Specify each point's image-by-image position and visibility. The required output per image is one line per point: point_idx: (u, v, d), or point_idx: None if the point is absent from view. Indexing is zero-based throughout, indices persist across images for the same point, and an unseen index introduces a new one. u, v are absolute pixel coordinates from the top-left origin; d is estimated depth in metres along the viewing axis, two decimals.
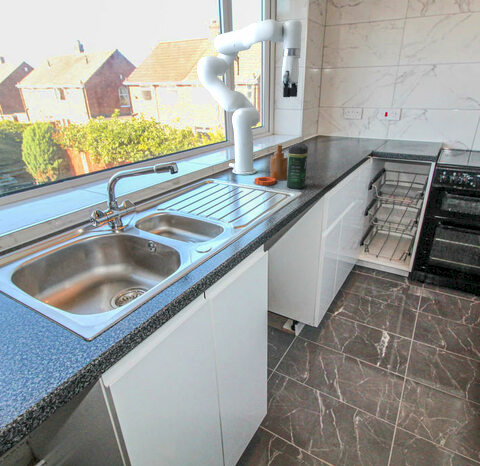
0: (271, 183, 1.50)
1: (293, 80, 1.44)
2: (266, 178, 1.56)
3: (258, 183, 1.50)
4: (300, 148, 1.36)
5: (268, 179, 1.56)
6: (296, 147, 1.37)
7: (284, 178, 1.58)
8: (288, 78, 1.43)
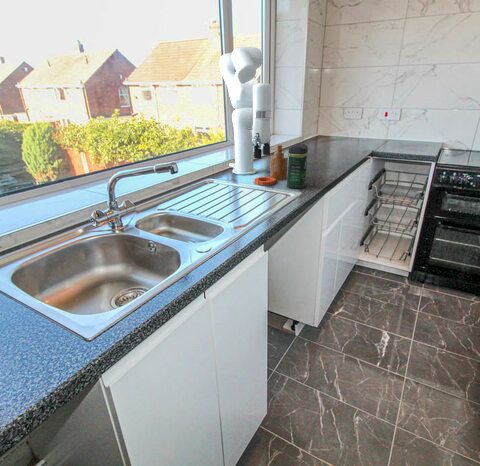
0: (271, 183, 1.50)
1: (264, 141, 1.39)
2: (266, 178, 1.56)
3: (258, 183, 1.50)
4: (300, 148, 1.36)
5: (268, 179, 1.56)
6: (296, 147, 1.37)
7: (284, 178, 1.58)
8: (259, 139, 1.39)
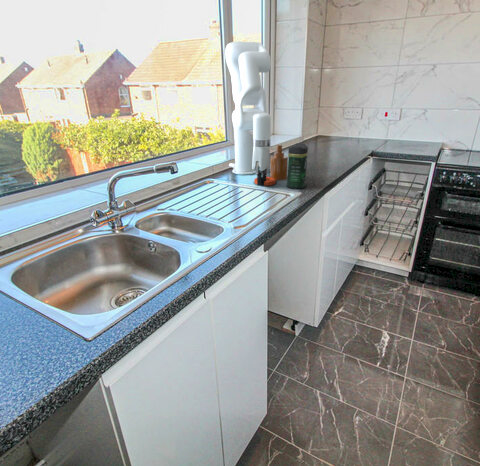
0: (271, 183, 1.50)
1: (263, 168, 1.44)
2: (266, 178, 1.56)
3: None
4: (300, 148, 1.36)
5: (268, 179, 1.56)
6: (296, 147, 1.37)
7: (284, 178, 1.58)
8: None
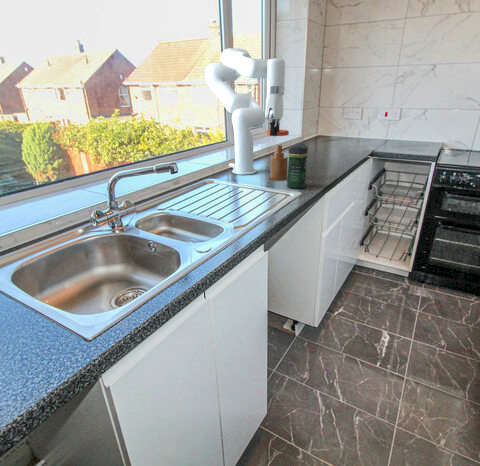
0: (284, 134, 1.48)
1: (277, 117, 1.42)
2: (279, 131, 1.54)
3: None
4: (300, 148, 1.36)
5: (281, 132, 1.54)
6: (296, 147, 1.37)
7: (284, 178, 1.58)
8: None
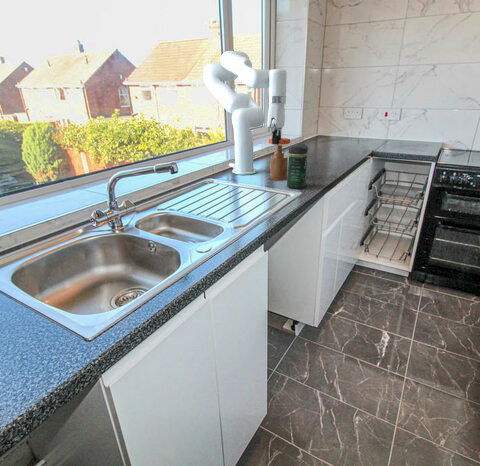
0: (286, 142, 1.50)
1: (279, 126, 1.45)
2: None
3: None
4: (300, 148, 1.36)
5: (282, 140, 1.56)
6: (296, 147, 1.37)
7: (284, 178, 1.58)
8: None
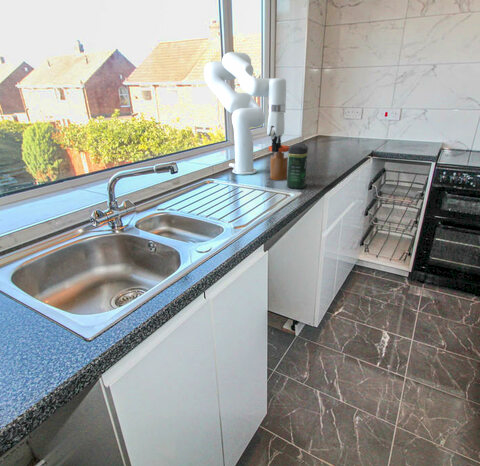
0: (285, 150, 1.51)
1: (278, 134, 1.46)
2: None
3: None
4: (300, 148, 1.36)
5: (282, 147, 1.58)
6: (296, 147, 1.37)
7: (284, 178, 1.58)
8: None
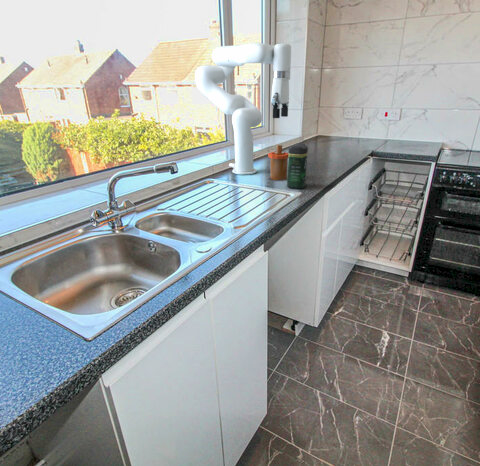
0: (285, 157, 1.52)
1: (282, 101, 1.46)
2: None
3: (272, 157, 1.52)
4: (300, 148, 1.36)
5: None
6: (296, 147, 1.37)
7: (284, 178, 1.58)
8: (278, 99, 1.45)
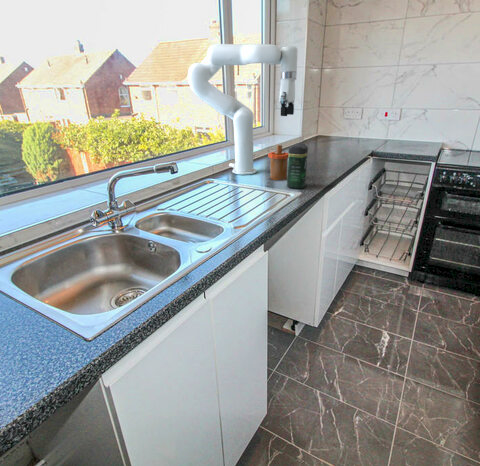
0: (285, 157, 1.52)
1: (290, 100, 1.55)
2: None
3: (272, 157, 1.52)
4: (300, 148, 1.36)
5: None
6: (296, 147, 1.37)
7: (284, 178, 1.58)
8: (285, 98, 1.55)
